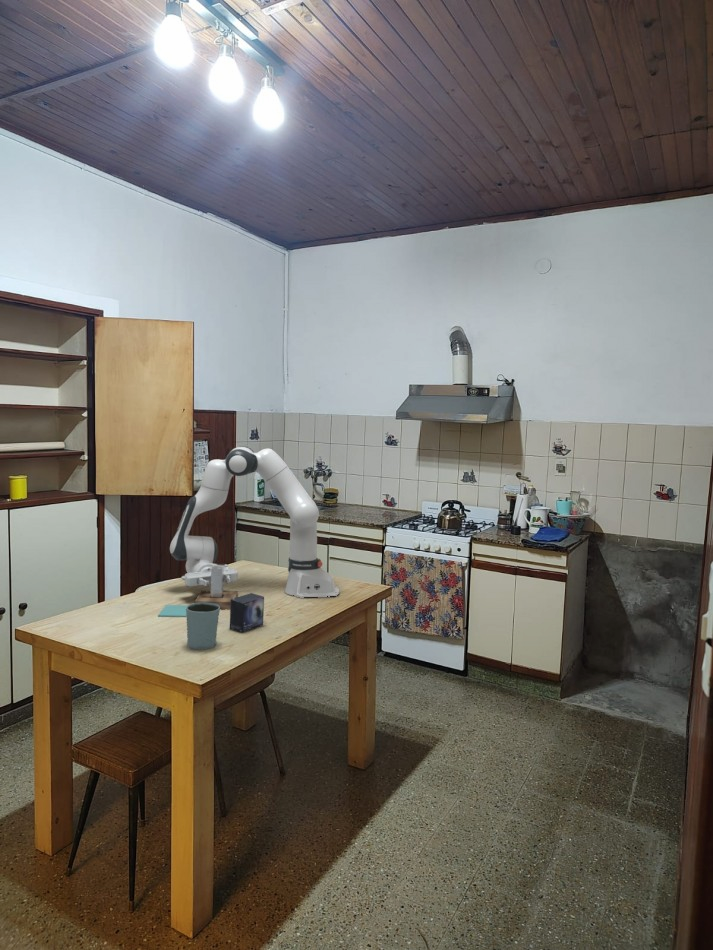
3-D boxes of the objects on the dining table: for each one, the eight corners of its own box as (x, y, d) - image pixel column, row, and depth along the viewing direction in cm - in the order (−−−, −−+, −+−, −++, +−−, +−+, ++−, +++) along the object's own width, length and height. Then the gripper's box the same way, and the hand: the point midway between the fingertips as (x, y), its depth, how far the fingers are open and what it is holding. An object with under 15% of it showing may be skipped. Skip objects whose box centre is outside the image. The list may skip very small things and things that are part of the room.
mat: (198, 606, 227) (198, 605, 227) (192, 617, 215) (192, 615, 215) (165, 606, 226) (165, 605, 226) (157, 616, 214) (157, 615, 214)
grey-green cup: (181, 642, 191) (181, 604, 190) (211, 636, 197) (212, 600, 196) (192, 652, 183) (193, 613, 182) (224, 646, 189) (225, 608, 188)
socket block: (237, 598, 239) (237, 591, 239) (233, 609, 225) (233, 601, 225) (201, 598, 238) (201, 590, 238) (194, 609, 224) (194, 601, 224)
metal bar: (222, 602, 234) (223, 566, 233) (221, 605, 230) (221, 569, 229) (212, 602, 234) (212, 566, 232) (210, 605, 230) (211, 568, 228)
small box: (242, 634, 201) (243, 602, 200) (228, 629, 204) (229, 599, 203) (264, 625, 210) (265, 595, 209) (250, 621, 213) (251, 592, 212)
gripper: (179, 568, 236) (190, 577, 224) (230, 563, 247) (243, 571, 235) (179, 584, 237) (190, 593, 225) (230, 579, 248) (243, 587, 236)
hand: (218, 582), depth 230 cm, fingers open, 7 cm apart
